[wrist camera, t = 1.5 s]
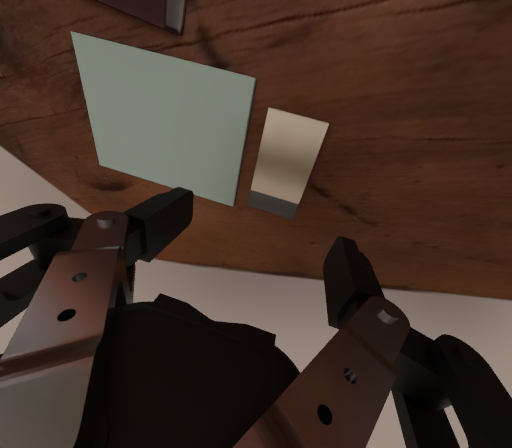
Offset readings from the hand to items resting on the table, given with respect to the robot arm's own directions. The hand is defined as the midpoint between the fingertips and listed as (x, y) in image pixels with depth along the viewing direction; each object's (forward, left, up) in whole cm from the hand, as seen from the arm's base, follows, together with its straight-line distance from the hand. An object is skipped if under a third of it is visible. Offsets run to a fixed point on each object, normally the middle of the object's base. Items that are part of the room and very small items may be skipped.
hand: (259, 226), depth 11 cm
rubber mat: (0, -15, -14) cm, 20 cm away
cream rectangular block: (0, 0, -14) cm, 14 cm away
